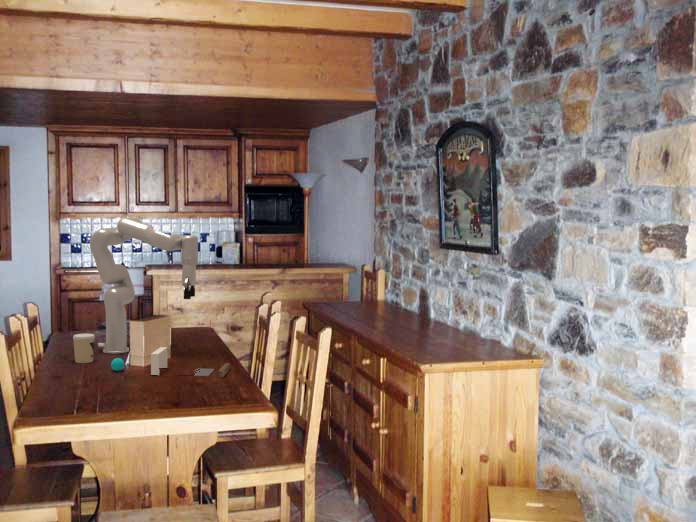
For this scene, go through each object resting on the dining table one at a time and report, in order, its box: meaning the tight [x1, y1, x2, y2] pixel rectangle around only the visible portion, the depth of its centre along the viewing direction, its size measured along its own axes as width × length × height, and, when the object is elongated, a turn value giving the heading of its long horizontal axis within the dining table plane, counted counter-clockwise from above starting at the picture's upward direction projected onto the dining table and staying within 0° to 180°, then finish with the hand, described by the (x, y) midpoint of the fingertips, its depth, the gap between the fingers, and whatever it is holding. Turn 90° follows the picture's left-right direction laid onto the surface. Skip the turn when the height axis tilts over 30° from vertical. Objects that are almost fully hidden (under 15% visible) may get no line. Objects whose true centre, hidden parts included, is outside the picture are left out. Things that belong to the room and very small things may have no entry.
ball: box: [110, 357, 125, 372], centre depth 314 cm, size 6×6×6 cm
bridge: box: [150, 346, 168, 376], centre depth 314 cm, size 3×14×9 cm, turn 179°
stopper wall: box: [217, 362, 231, 378], centre depth 314 cm, size 2×16×2 cm, turn 179°
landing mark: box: [193, 368, 215, 377], centre depth 314 cm, size 13×13×1 cm
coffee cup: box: [72, 333, 96, 364], centre depth 331 cm, size 9×9×12 cm
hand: (189, 297), depth 344 cm, fingers open, 9 cm apart
